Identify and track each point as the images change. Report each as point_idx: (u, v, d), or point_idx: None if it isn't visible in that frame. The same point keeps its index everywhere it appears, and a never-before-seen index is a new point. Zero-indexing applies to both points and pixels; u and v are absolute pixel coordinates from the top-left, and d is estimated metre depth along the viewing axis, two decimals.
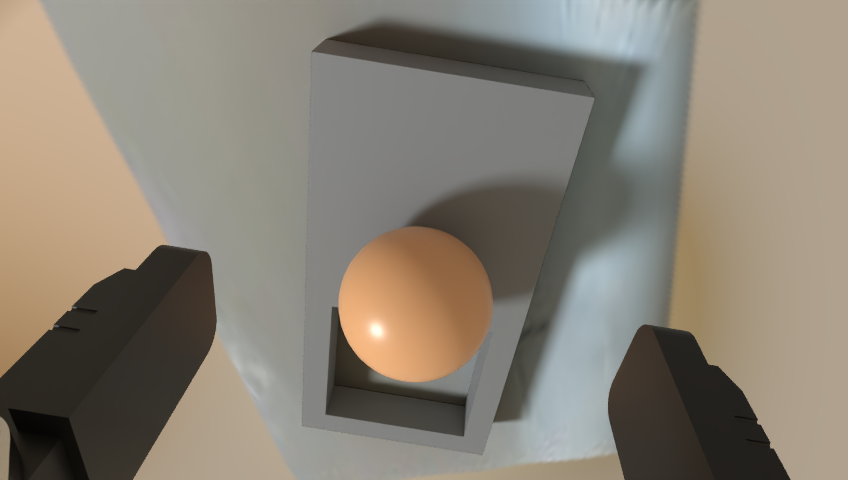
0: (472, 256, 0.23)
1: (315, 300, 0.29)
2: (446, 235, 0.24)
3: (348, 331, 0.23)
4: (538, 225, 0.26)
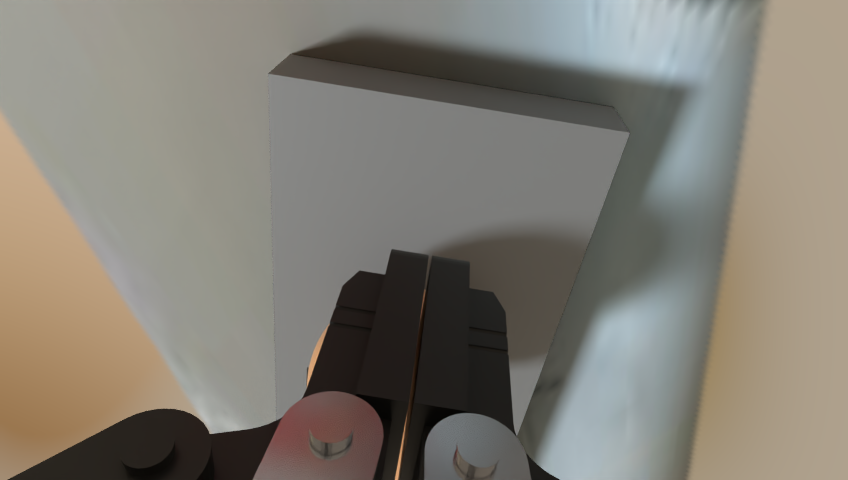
0: None
1: (287, 360, 0.25)
2: None
3: None
4: (554, 282, 0.21)
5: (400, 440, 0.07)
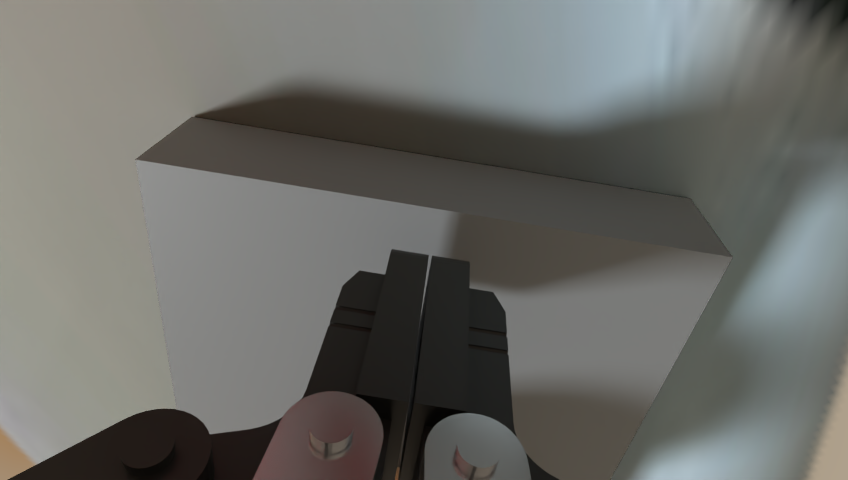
0: None
1: None
2: None
3: None
4: (594, 451, 0.14)
5: (400, 440, 0.07)
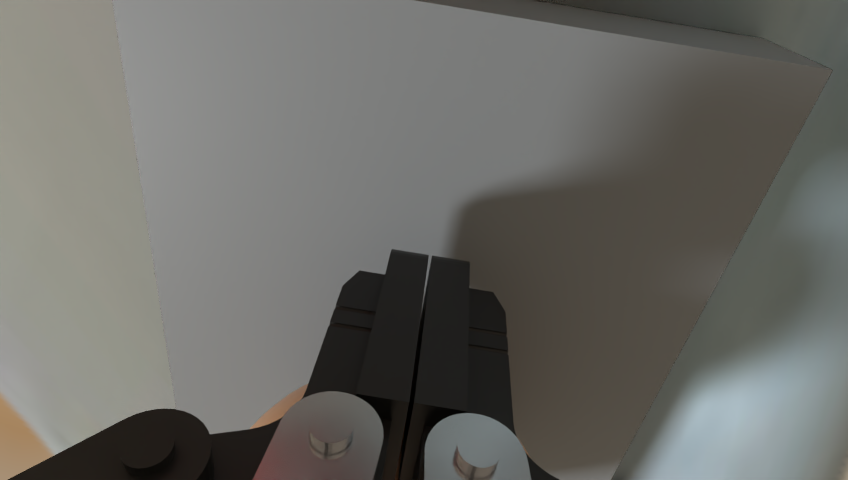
0: None
1: None
2: None
3: None
4: (645, 349, 0.12)
5: (400, 440, 0.07)
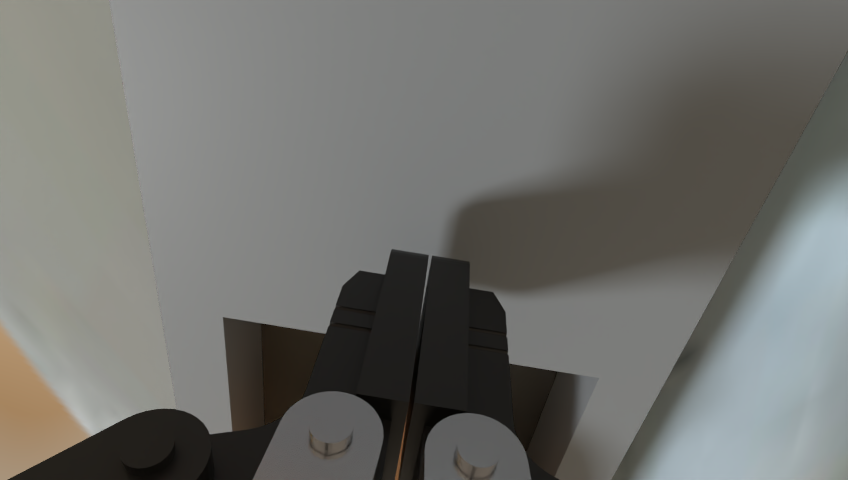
0: None
1: (182, 303, 0.12)
2: None
3: None
4: (777, 89, 0.09)
5: (400, 440, 0.07)
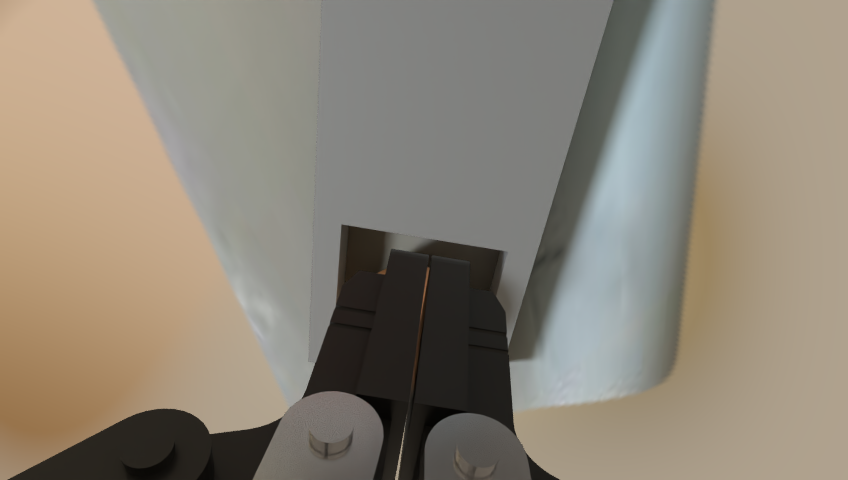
0: None
1: (324, 217, 0.28)
2: None
3: None
4: (557, 128, 0.25)
5: (400, 440, 0.07)
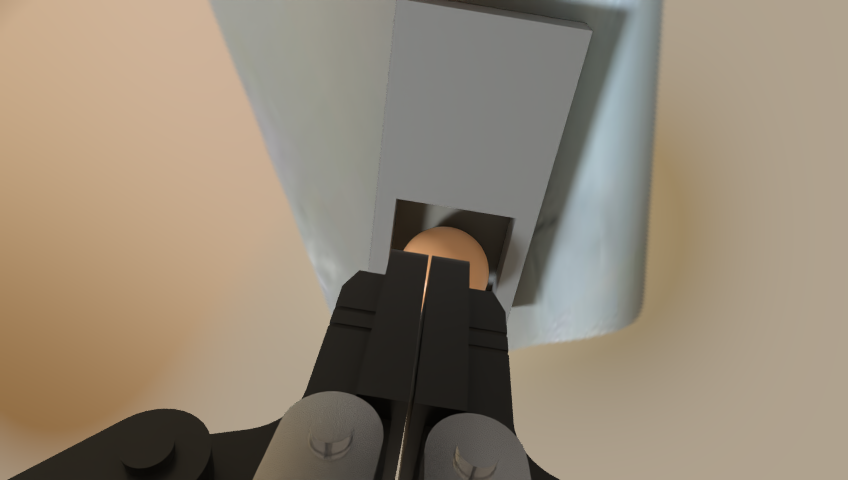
0: None
1: (384, 193, 0.39)
2: None
3: None
4: (551, 129, 0.36)
5: (400, 440, 0.07)
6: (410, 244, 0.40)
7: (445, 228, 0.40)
